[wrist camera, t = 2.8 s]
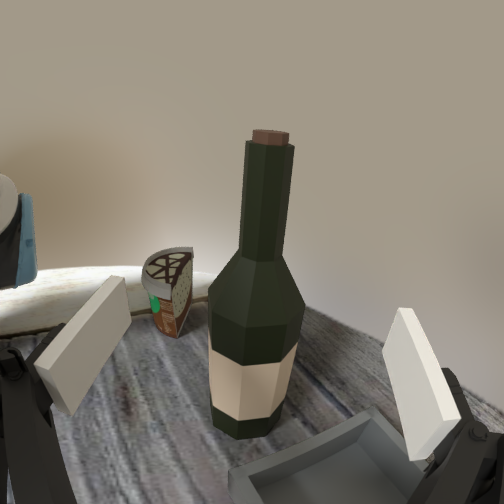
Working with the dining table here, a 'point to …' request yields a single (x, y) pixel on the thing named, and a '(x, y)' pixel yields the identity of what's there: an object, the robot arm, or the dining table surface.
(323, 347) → the dining table surface
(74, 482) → the dining table surface
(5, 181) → the robot arm
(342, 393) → the dining table surface
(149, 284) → the food container
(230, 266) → the wine bottle
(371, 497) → the tote
